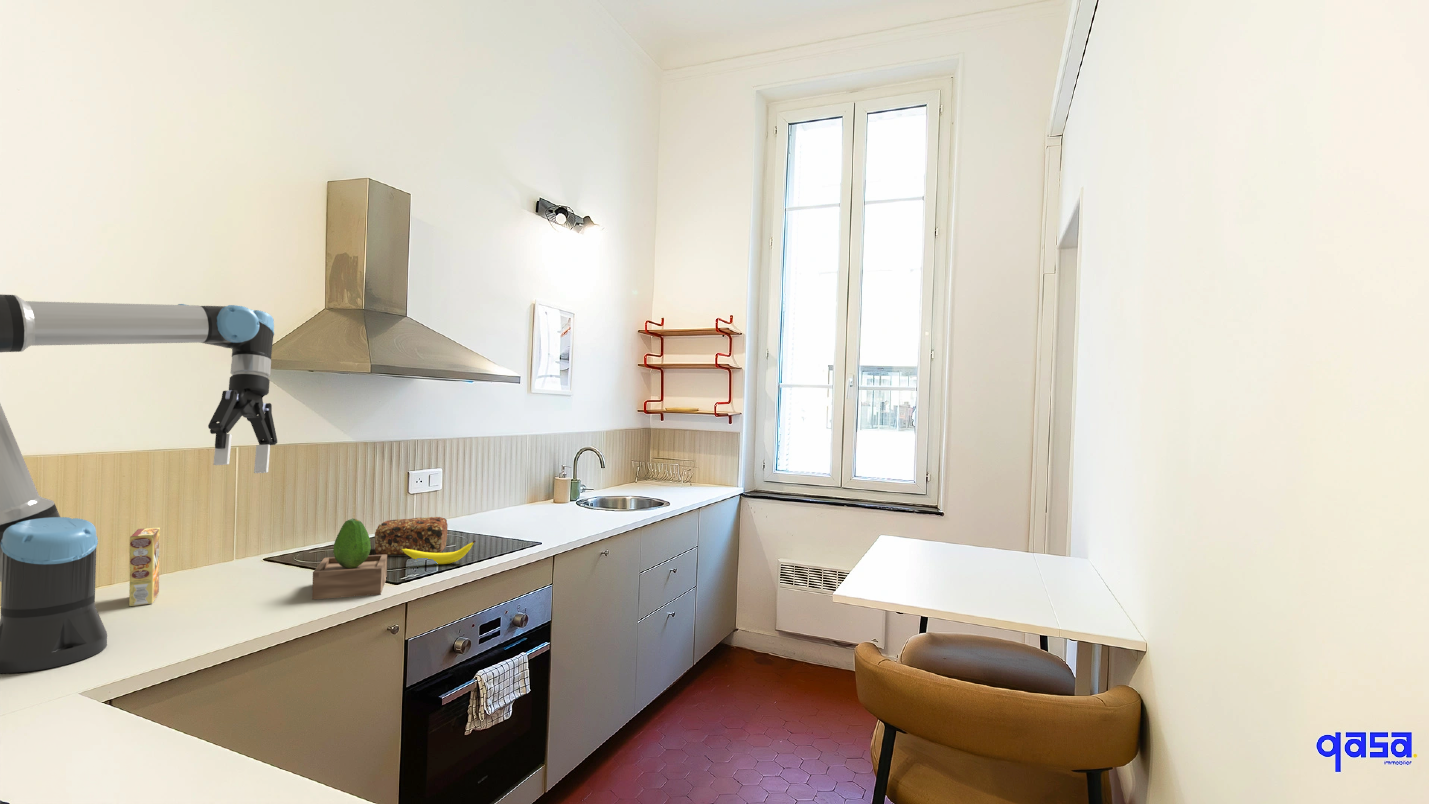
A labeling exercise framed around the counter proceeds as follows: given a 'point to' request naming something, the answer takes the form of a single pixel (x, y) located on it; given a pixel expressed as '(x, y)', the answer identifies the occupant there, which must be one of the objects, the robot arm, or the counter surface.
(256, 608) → the counter surface
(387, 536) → the bread
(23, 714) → the counter surface
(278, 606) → the counter surface
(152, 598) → the candy box
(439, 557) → the banana
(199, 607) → the counter surface
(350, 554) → the avocado
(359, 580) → the walnut wooden box
